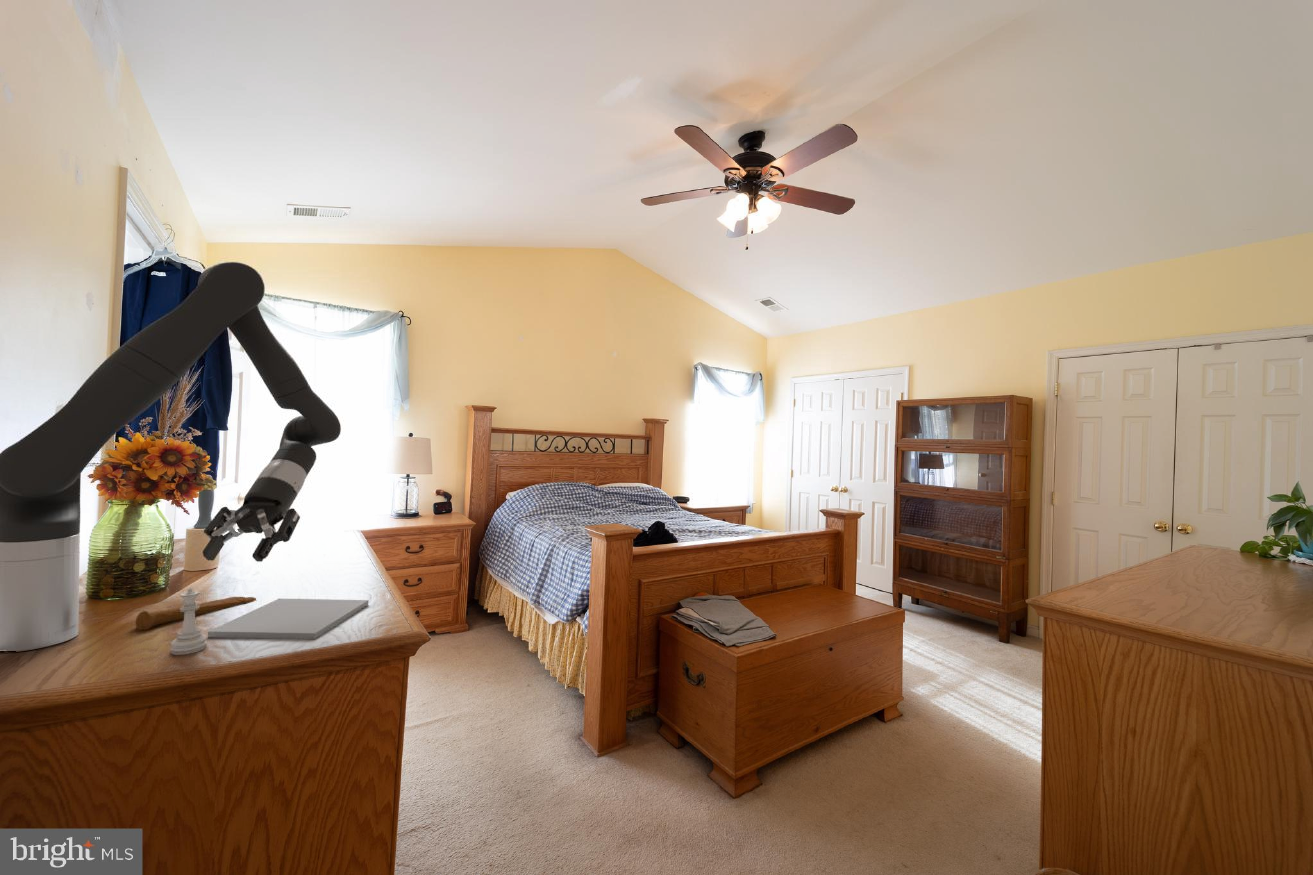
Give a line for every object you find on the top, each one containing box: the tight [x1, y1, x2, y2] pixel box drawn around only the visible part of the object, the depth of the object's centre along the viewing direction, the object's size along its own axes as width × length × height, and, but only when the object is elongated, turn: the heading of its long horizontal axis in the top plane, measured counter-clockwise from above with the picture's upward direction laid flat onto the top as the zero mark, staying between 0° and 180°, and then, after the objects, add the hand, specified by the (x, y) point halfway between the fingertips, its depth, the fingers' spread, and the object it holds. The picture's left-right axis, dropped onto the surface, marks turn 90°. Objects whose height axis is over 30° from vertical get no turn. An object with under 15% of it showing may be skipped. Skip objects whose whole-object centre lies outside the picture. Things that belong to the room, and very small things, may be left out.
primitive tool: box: [135, 596, 257, 631], centre depth 103 cm, size 19×6×4 cm, turn 166°
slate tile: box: [207, 598, 369, 640], centre depth 101 cm, size 18×18×1 cm
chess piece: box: [170, 587, 208, 656], centre depth 87 cm, size 4×4×10 cm
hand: (232, 558), depth 95 cm, fingers open, 8 cm apart
